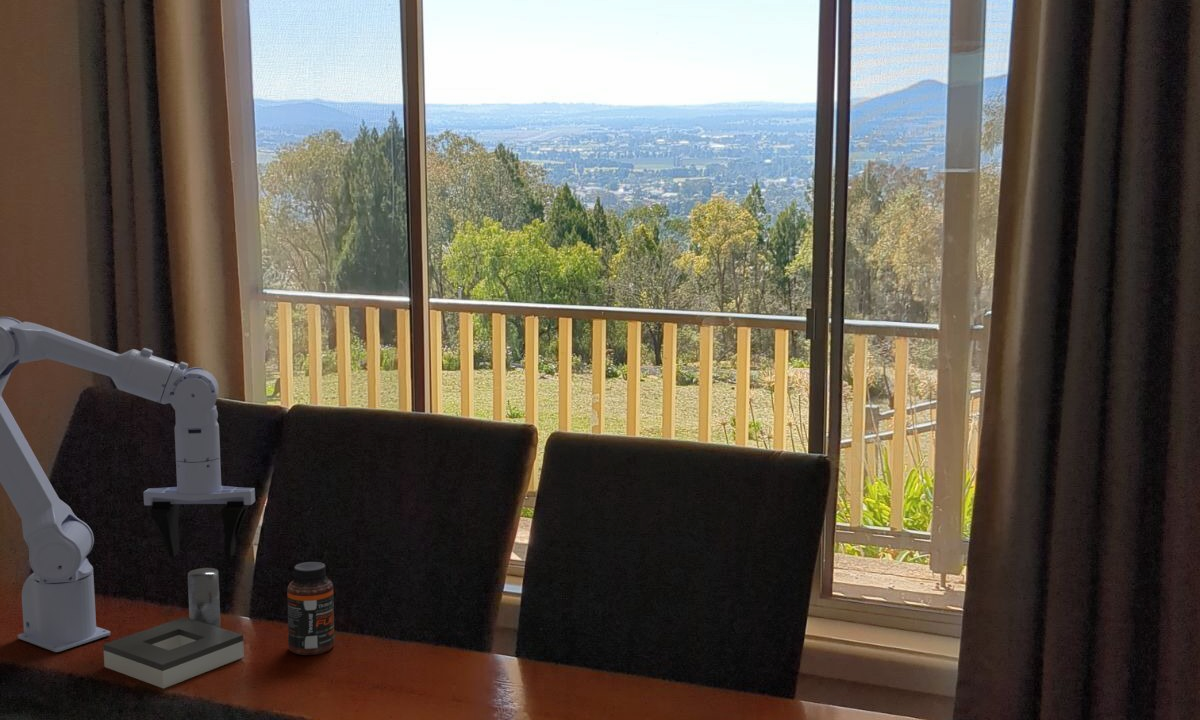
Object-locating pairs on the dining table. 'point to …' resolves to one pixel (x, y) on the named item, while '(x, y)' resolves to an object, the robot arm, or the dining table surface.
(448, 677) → the dining table surface
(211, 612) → the steel peg
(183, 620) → the socket
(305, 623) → the supplement bottle
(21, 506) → the robot arm
